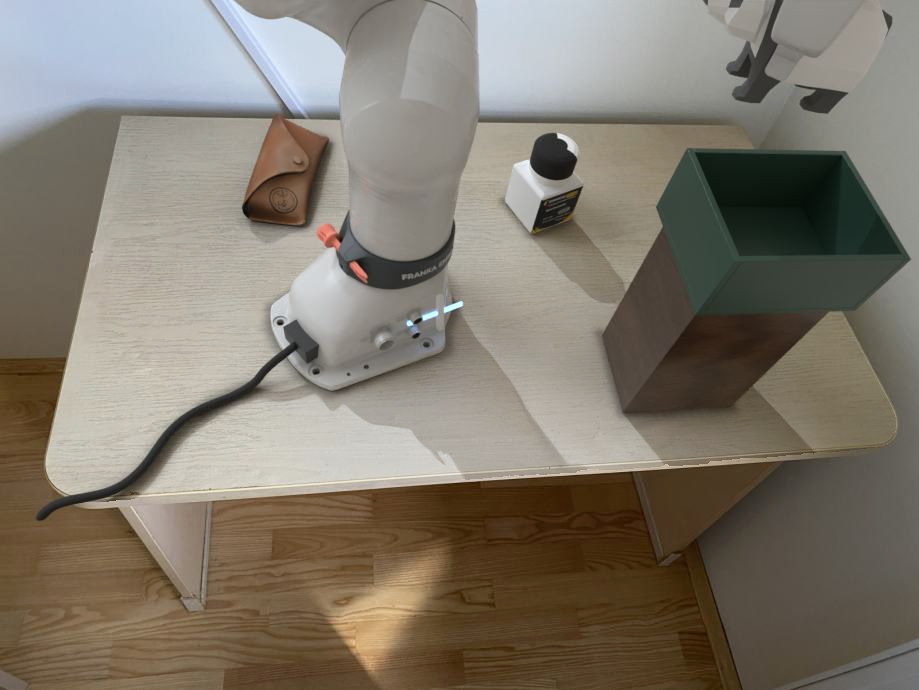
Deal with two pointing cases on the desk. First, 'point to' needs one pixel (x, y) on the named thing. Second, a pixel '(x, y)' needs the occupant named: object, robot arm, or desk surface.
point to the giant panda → (831, 74)
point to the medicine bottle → (546, 183)
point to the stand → (689, 343)
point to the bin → (776, 232)
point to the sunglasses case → (284, 174)
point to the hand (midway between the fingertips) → (788, 48)
